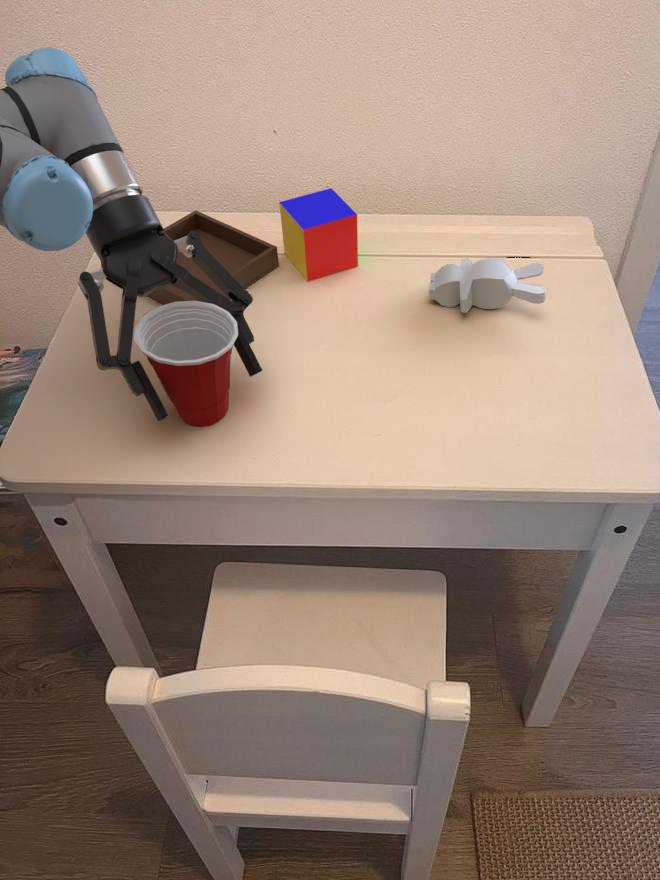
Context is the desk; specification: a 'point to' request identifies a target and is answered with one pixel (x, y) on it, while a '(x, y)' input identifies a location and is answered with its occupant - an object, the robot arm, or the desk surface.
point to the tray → (219, 254)
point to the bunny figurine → (484, 284)
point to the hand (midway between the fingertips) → (211, 395)
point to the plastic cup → (190, 356)
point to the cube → (319, 234)
